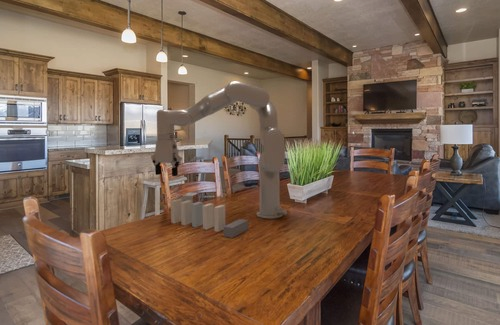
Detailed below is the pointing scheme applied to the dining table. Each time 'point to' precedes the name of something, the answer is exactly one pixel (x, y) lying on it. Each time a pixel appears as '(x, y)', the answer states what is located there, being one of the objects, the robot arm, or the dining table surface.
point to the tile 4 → (208, 216)
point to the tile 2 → (186, 212)
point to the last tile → (219, 218)
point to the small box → (191, 197)
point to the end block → (235, 228)
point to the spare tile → (197, 214)
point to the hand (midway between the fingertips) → (166, 175)
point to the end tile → (176, 211)
